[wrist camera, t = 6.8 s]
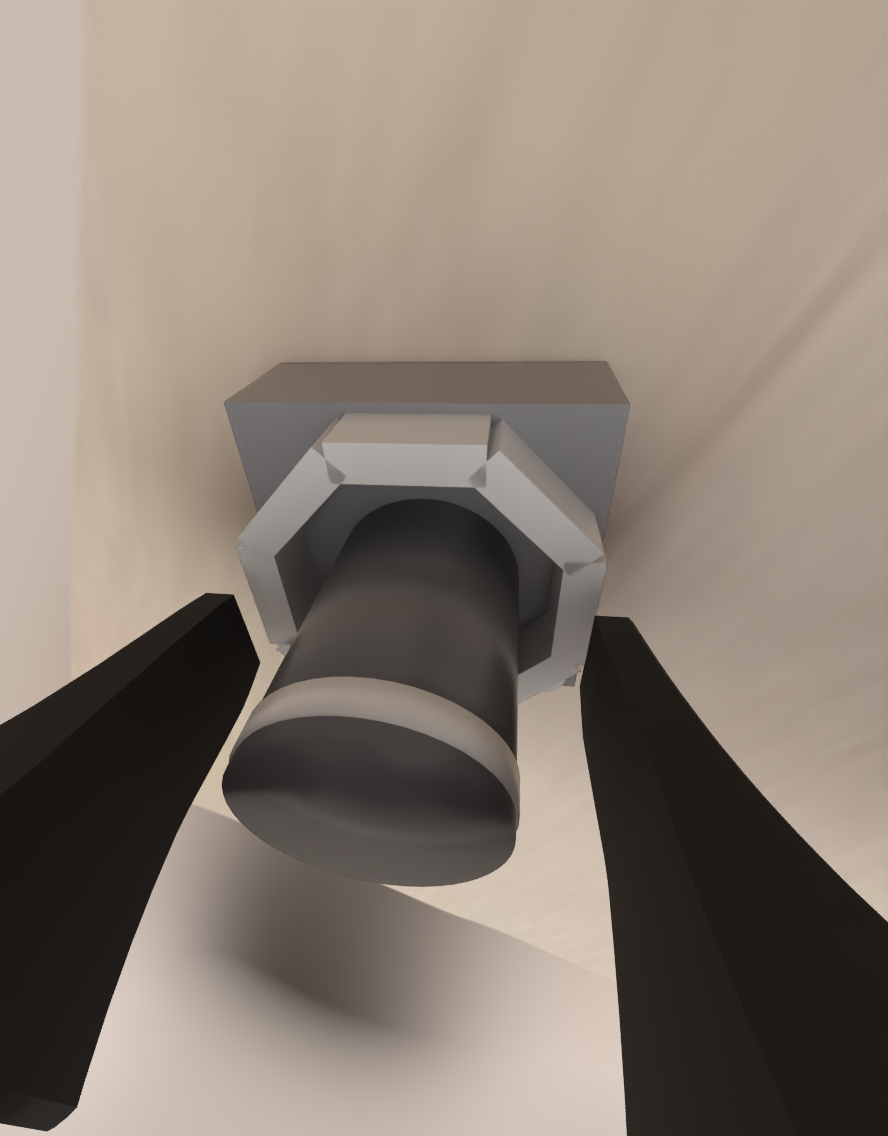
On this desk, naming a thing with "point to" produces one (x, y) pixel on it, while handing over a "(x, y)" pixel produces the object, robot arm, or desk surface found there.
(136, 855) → the robot arm
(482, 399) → the mount
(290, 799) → the lens
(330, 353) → the desk surface
